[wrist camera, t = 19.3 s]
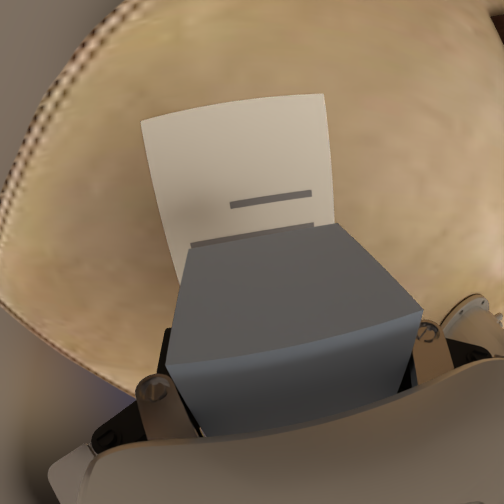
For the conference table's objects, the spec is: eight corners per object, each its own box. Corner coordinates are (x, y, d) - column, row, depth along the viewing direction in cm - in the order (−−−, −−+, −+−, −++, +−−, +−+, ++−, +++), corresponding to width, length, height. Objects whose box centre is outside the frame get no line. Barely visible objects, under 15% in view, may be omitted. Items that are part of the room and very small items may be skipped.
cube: (337, 223, 11) (423, 309, 6) (336, 333, 14) (381, 428, 8) (188, 249, 11) (165, 365, 5) (220, 356, 13) (225, 463, 8)
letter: (323, 93, 20) (324, 93, 20) (333, 305, 29) (334, 306, 29) (141, 121, 20) (140, 121, 19) (194, 329, 29) (194, 331, 28)
